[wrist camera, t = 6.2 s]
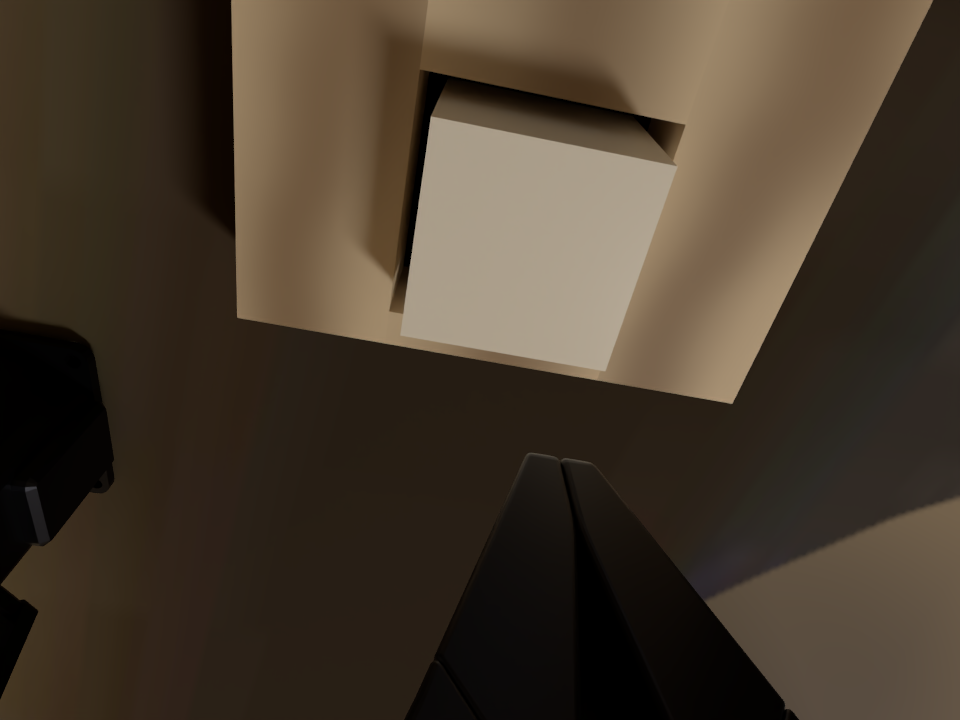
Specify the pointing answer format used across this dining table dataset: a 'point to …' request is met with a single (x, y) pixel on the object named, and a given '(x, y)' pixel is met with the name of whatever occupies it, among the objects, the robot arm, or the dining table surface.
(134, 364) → the dining table surface
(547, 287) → the beige cube
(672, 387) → the beige flat board
